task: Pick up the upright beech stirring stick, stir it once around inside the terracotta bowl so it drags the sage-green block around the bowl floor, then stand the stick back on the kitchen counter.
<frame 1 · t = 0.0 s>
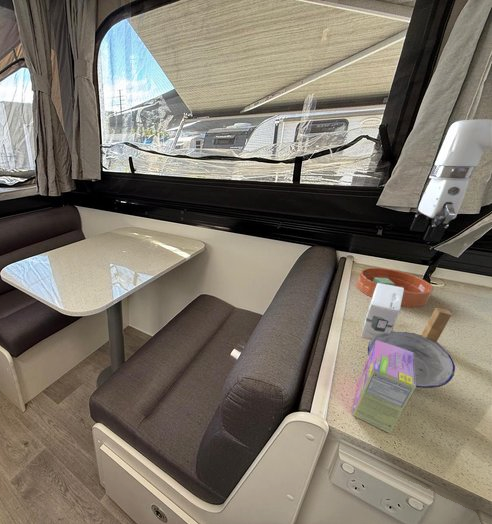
hand: (423, 235, 77), 23 cm above the kitchen counter, tool pointing down, fingers open, 9 cm apart
bowl: (405, 369, 58), point 2 cm above the kitchen counter, touching ink box
knife: (384, 327, 76), on the kitchen counter
stick: (426, 343, 69), on the kitchen counter
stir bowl: (388, 293, 91), on the kitchen counter
box: (371, 406, 53), on the kitchen counter
block: (380, 290, 92), point 1 cm above the kitchen counter, touching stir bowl
ink box: (375, 329, 67), point 5 cm above the kitchen counter, touching bowl
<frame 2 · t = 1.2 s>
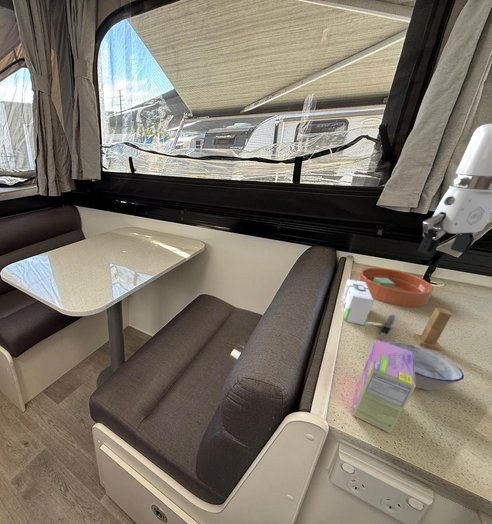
hand: (441, 252, 68), 22 cm above the kitchen counter, tool pointing down, fingers open, 9 cm apart
bowl: (411, 377, 59), on the kitchen counter
ink box: (359, 311, 75), point 4 cm above the kitchen counter
everything else where it was.
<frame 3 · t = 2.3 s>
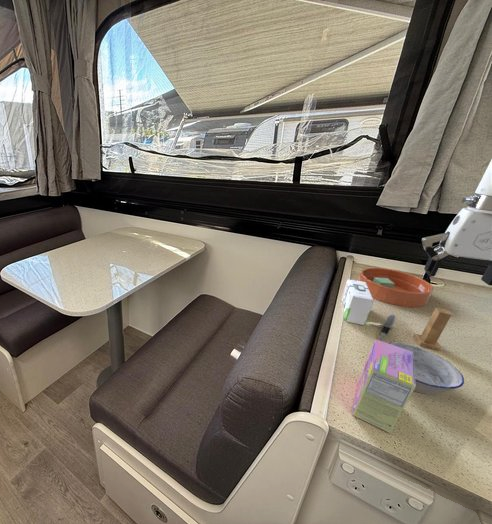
hand: (457, 278, 62), 19 cm above the kitchen counter, tool pointing down, fingers open, 9 cm apart
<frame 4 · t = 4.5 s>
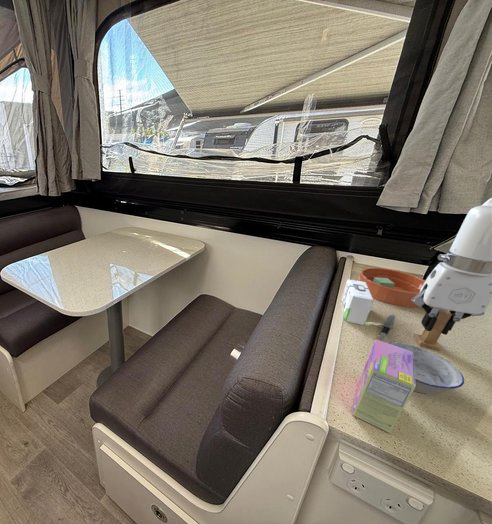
hand: (433, 329, 67), 5 cm above the kitchen counter, tool pointing down, fingers closed on stick, 2 cm apart
stick: (426, 343, 69), on the kitchen counter, touching gripper
everything else where it was.
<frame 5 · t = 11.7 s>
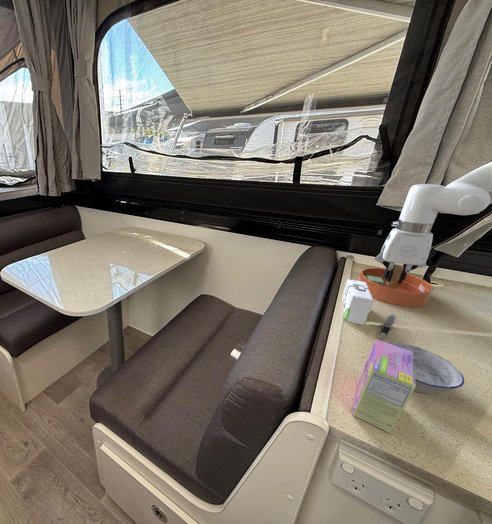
hand: (392, 280, 88), 6 cm above the kitchen counter, tool pointing down, fingers closed on stick, 2 cm apart
stick: (388, 293, 90), point 1 cm above the kitchen counter, touching block, gripper
block: (371, 288, 93), point 1 cm above the kitchen counter, touching stick, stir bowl
everything else where it was.
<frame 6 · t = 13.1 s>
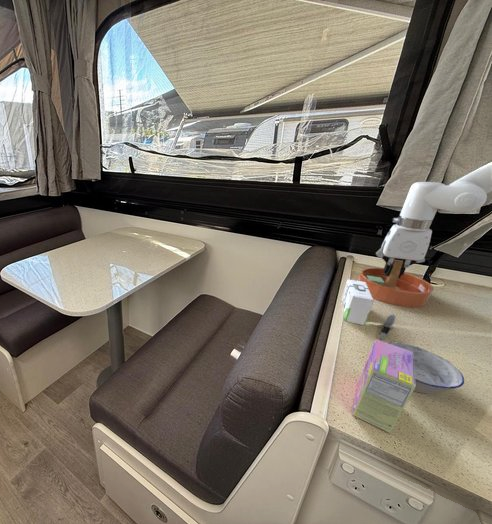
hand: (391, 275, 91), 6 cm above the kitchen counter, tool pointing down, fingers closed on stick, 2 cm apart
stick: (388, 288, 91), point 2 cm above the kitchen counter, tilted 12°, touching gripper
block: (371, 288, 93), point 1 cm above the kitchen counter, touching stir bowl
everything else where it was.
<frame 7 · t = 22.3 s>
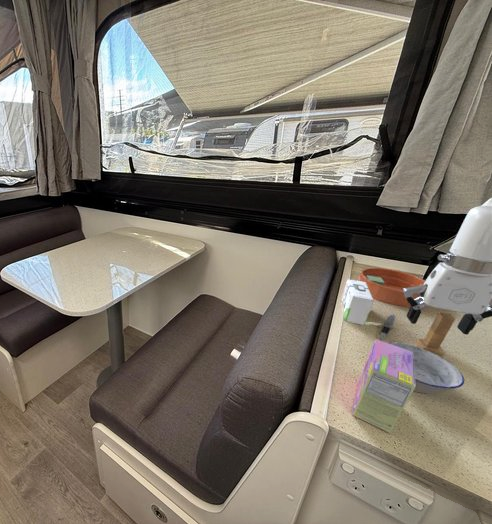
hand: (435, 325, 67), 6 cm above the kitchen counter, tool pointing down, fingers open, 9 cm apart
stick: (428, 348, 67), on the kitchen counter
everything else where it was.
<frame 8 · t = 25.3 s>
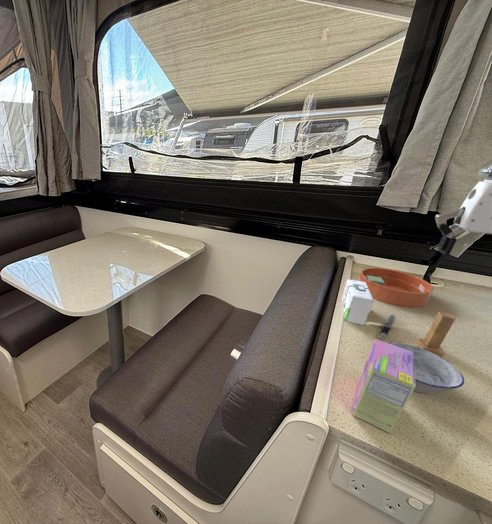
hand: (473, 256, 59), 24 cm above the kitchen counter, tool pointing down, fingers open, 9 cm apart
nothing on the kitchen counter moved.
at the end: block moved 2.4 cm from its start; block inside the target area in the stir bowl (4.9 cm from its centre), point 0.6 cm above the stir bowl's base; stick tilted 0° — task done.
